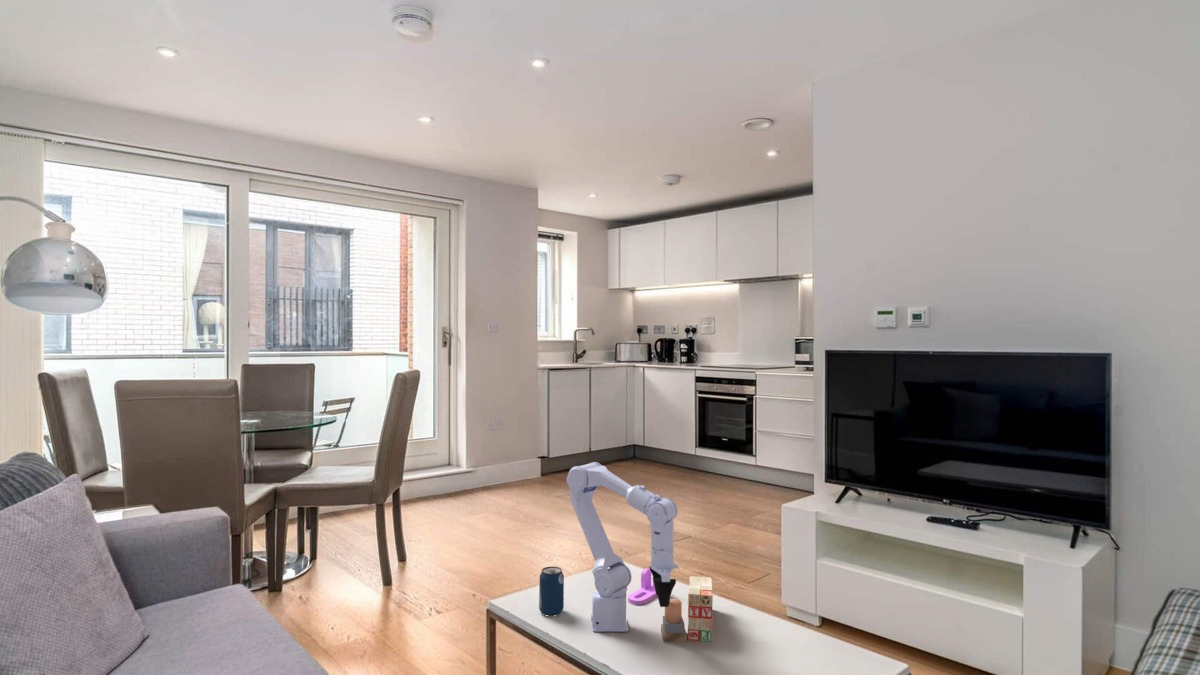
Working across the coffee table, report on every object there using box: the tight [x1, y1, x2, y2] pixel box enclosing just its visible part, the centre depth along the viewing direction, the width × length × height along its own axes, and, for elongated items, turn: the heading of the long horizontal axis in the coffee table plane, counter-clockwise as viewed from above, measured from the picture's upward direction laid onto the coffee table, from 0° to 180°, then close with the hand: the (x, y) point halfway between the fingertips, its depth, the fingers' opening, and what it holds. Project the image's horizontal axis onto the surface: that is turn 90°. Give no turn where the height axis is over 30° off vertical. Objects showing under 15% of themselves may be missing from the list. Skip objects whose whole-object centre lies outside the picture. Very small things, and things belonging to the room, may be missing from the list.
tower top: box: [662, 615, 686, 634], centre depth 168 cm, size 5×5×2 cm
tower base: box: [660, 623, 688, 643], centre depth 168 cm, size 6×6×2 cm
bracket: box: [627, 567, 658, 606], centre depth 194 cm, size 13×6×7 cm, turn 144°
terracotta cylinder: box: [664, 598, 683, 624], centre depth 168 cm, size 4×4×4 cm
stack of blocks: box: [687, 576, 714, 643], centre depth 176 cm, size 21×6×12 cm, turn 171°
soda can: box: [538, 566, 565, 617], centre depth 182 cm, size 7×7×12 cm
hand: (662, 600), depth 165 cm, fingers open, 7 cm apart
